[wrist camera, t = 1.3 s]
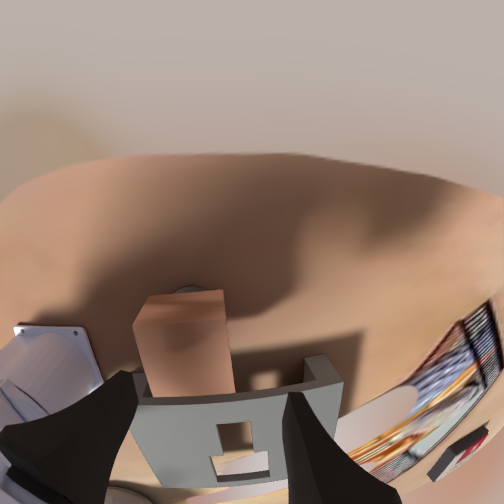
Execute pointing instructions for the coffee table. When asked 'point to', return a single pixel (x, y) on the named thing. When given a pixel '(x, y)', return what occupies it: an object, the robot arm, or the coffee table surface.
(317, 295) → the coffee table surface
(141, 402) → the keyhole plate
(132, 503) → the coffee pot
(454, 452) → the red and grey box
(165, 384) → the peg
